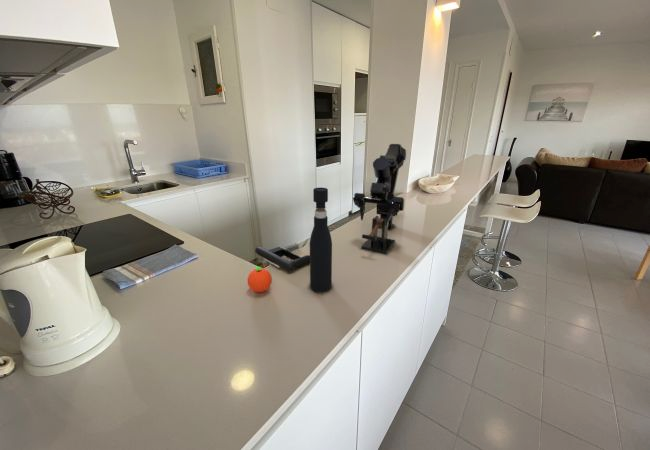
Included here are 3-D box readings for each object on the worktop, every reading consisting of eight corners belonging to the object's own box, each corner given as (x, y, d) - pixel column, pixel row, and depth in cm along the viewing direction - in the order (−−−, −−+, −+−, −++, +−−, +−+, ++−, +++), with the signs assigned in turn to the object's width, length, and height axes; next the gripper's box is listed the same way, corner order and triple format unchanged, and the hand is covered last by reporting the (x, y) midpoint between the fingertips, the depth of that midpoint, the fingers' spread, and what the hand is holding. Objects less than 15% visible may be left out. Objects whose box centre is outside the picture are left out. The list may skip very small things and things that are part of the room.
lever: (375, 242, 96) (375, 236, 95) (361, 240, 99) (361, 234, 98) (387, 225, 107) (387, 219, 106) (375, 222, 109) (375, 217, 108)
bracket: (386, 254, 103) (388, 225, 99) (361, 248, 108) (362, 220, 103) (395, 242, 113) (397, 216, 109) (371, 238, 117) (373, 212, 113)
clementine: (246, 284, 84) (244, 264, 82) (269, 280, 87) (267, 259, 84) (250, 299, 77) (248, 277, 75) (275, 293, 80) (273, 272, 77)
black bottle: (315, 294, 79) (314, 193, 69) (306, 283, 85) (304, 187, 74) (335, 288, 82) (337, 190, 71) (325, 278, 88) (325, 185, 77)
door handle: (286, 237, 112) (251, 247, 100) (321, 252, 99) (286, 266, 88) (286, 245, 113) (252, 256, 101) (321, 261, 100) (286, 276, 89)
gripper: (355, 171, 103) (345, 208, 98) (406, 175, 97) (399, 214, 91) (359, 188, 113) (350, 221, 107) (406, 192, 106) (399, 228, 101)
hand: (373, 221), depth 101 cm, fingers open, 9 cm apart
